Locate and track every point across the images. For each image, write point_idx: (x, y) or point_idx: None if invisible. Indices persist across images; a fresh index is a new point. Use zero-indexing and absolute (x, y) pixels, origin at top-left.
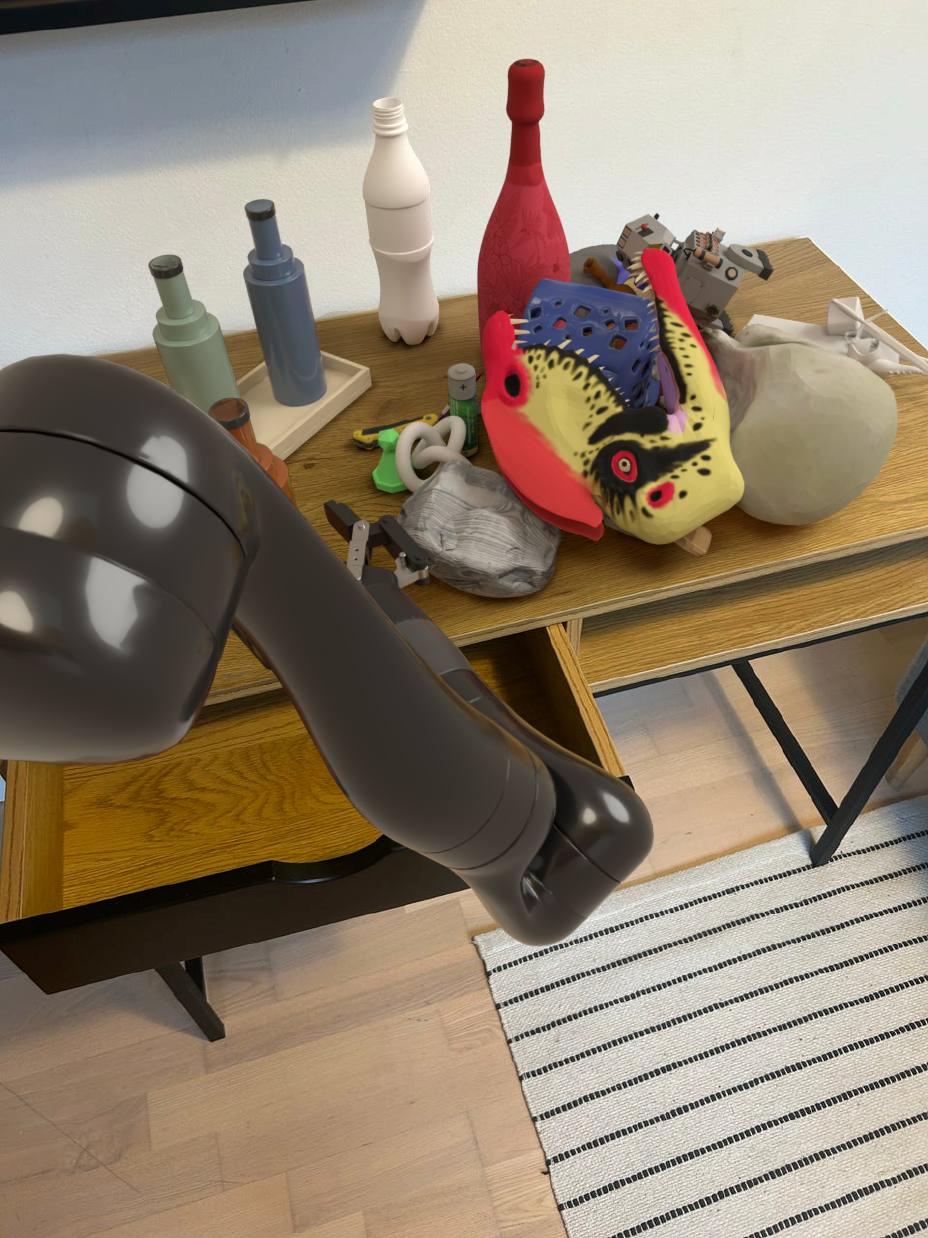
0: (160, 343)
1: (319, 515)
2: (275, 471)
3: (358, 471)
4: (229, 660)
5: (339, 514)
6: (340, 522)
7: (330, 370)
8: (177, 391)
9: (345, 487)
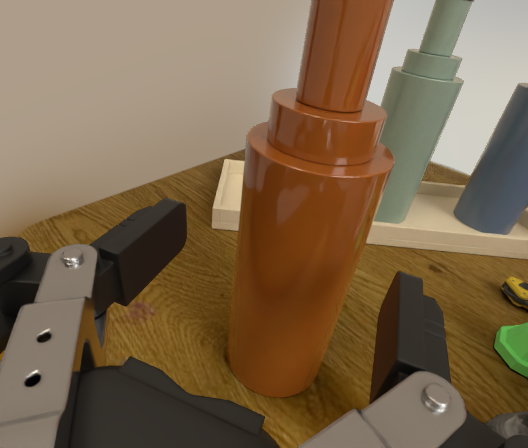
0: (393, 69)
1: None
2: (360, 151)
3: (483, 312)
4: (149, 349)
5: (405, 315)
6: (392, 333)
7: (522, 226)
8: None
9: (454, 313)
